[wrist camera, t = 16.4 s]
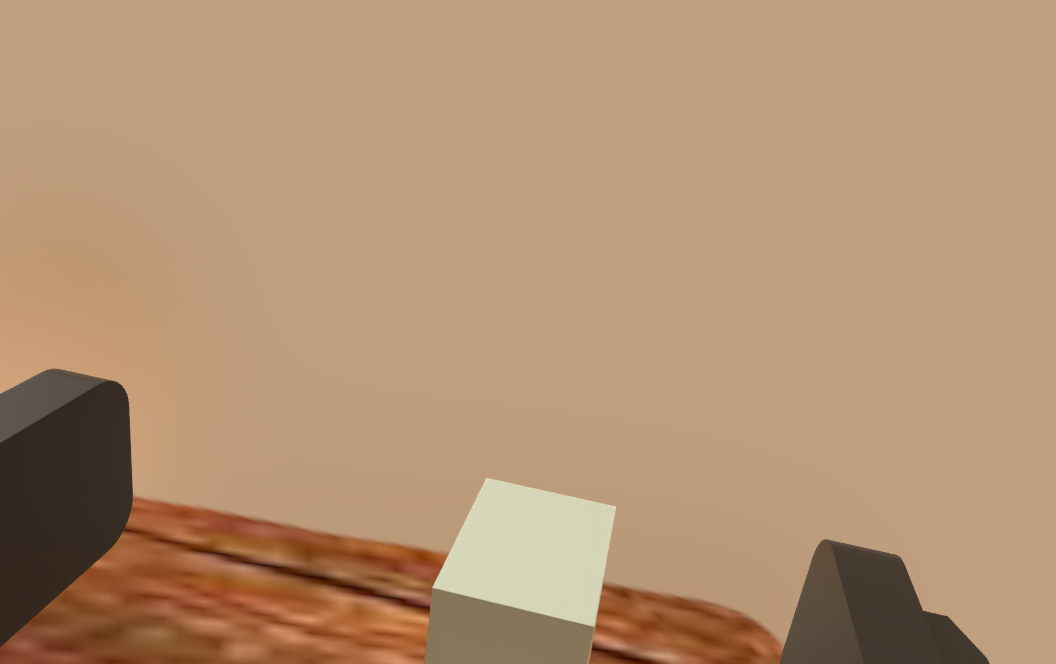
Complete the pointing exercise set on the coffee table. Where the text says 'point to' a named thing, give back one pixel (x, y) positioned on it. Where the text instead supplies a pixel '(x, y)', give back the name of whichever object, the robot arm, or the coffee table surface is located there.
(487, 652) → the tea box
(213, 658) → the coffee table surface
